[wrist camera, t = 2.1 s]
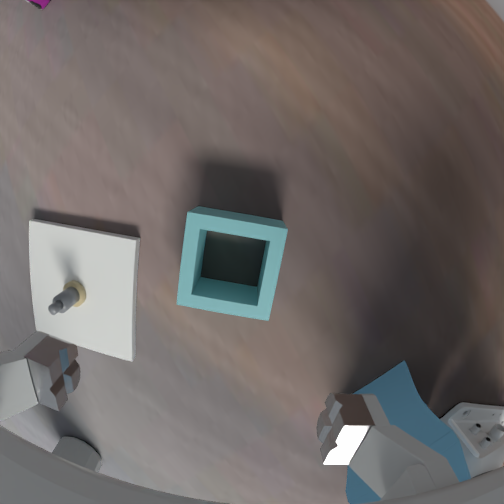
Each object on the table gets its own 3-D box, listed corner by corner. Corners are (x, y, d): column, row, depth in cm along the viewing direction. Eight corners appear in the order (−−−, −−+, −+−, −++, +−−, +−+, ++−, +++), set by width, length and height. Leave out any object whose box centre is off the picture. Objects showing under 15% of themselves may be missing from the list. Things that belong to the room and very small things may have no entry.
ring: (282, 220, 25) (287, 229, 21) (266, 299, 26) (268, 320, 22) (198, 206, 24) (187, 211, 20) (187, 285, 26) (176, 304, 22)
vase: (324, 409, 29) (374, 627, 5) (404, 359, 28) (524, 555, 3) (360, 448, 31) (409, 614, 7) (427, 406, 30) (514, 560, 5)
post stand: (140, 237, 25) (114, 253, 20) (135, 356, 28) (116, 387, 23) (35, 218, 25) (1, 228, 20) (40, 326, 27) (14, 348, 22)
